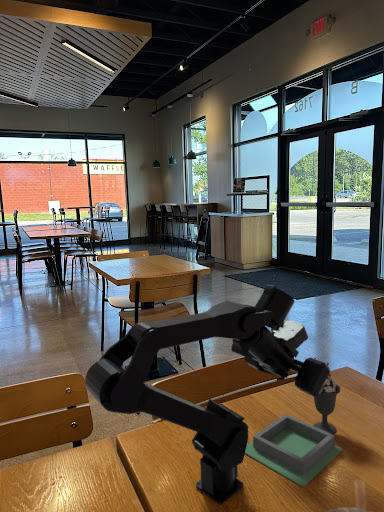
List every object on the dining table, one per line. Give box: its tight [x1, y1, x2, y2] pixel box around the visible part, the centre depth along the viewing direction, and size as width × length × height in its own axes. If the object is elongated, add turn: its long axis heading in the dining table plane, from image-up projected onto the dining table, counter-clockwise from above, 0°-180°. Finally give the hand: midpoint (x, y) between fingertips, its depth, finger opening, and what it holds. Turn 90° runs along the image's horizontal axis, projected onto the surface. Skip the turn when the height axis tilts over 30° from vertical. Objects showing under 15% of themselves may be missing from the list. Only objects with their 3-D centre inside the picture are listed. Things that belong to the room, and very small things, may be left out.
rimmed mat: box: [245, 413, 344, 488], centre depth 79 cm, size 15×15×3 cm
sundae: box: [313, 362, 341, 435], centre depth 86 cm, size 7×7×15 cm
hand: (303, 383), depth 81 cm, fingers open, 9 cm apart
